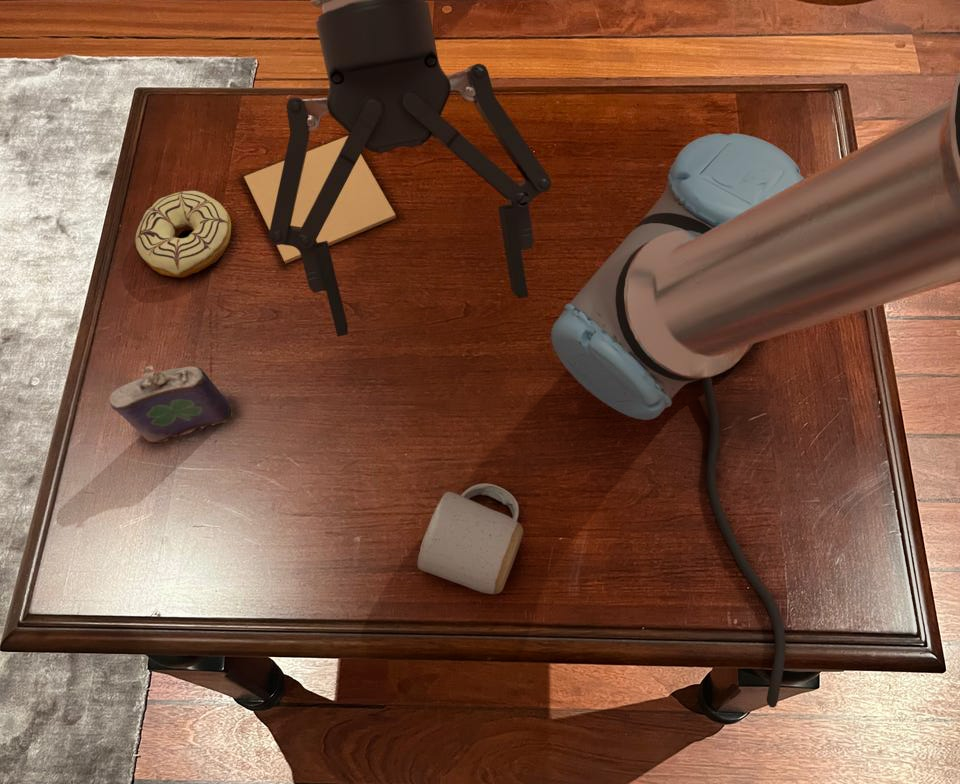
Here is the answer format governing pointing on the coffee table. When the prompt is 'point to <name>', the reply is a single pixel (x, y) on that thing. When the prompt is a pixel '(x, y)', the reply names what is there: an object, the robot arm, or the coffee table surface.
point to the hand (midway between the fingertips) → (432, 312)
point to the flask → (170, 403)
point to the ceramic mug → (472, 540)
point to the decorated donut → (173, 219)
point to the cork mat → (352, 209)
